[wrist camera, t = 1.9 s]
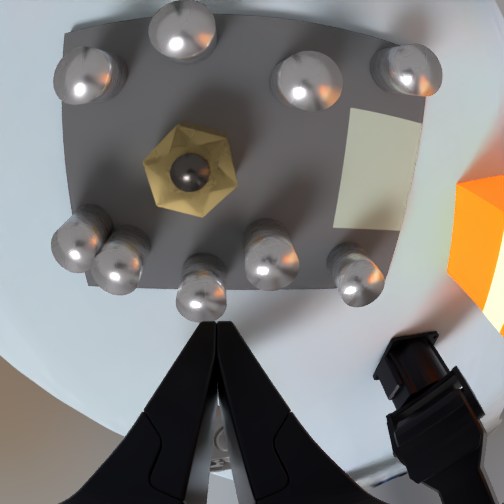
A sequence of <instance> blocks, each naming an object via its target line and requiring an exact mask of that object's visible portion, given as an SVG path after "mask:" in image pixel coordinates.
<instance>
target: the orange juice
mask: <svg viewBox="0 0 504 504" xmlns="http://www.w3.org/2000/svg"><path fill="white" fill-rule="evenodd" d="M447 273H448V274H449V275H450V276H451V277H452V278H453V279H454V280H455V281H456V282H457V283H458V284H459V285H460V287H461V288H462V289H463V290H464V291H465V292H466V293H467V294H468V295H469V296H470V298H471V299H472V300H473V301H474V302H475V303H476V304H477V305H478V307H479V308H480V309H481V310H482V311H483V313H484V315H485V316H486V317H487V318H488V319H489V321H490V322H491V323H492V324H493V325H494V327H495V328H496V329H497V330H498V332H500V333H501V334H502V335H503V337H504V175H500V176H495V177H489V178H484V179H479V180H473V181H468V182H463V183H458V184H456V201H455V214H454V225H453V234H452V242H451V250H450V256H449V263H448V269H447Z"/></svg>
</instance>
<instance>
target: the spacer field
mask: <svg viewBox="0 0 504 504" xmlns="http://www.w3.org/2000/svg"><path fill="white" fill-rule="evenodd" d="M149 39H150V41H151V43H152V45H153V46H154V48H155V49H156V50H157V51H159V52H160V53H162V54H163V55H165V56H166V57H168V58H170V59H171V60H173V61H174V62H176V63H179V64H184V65H191V64H196V63H199V62H201V61H203V60H205V59H206V58H208V57H209V56H210V55H211V54H212V52H213V51H214V49H215V47H216V44H217V32H216V25H215V19H214V16H213V14H212V12H211V11H210V9H209V8H208V7H206V6H205V5H204V4H202V3H200V2H197V1H194V0H178V1H174V2H171V3H169V4H167V5H165V6H164V7H162V8H161V9H160V10H159V11H158V12H157V13H156V14H155V15H154V17H153V18H152V20H151V22H150V25H149ZM370 74H371V77H372V79H373V81H374V82H375V84H376V85H377V86H378V87H379V88H380V89H382V90H383V91H386V92H388V93H397V94H407V95H415V96H424V97H427V96H431V95H433V94H435V93H436V92H437V91H438V90H439V88H440V86H441V83H442V68H441V65H440V62H439V60H438V58H437V57H436V55H435V54H434V53H433V52H432V51H431V50H430V49H429V48H427V47H426V46H423V45H421V44H410V45H404V46H397V47H391V48H386V49H381V50H378V51H377V52H376V53H374V55H373V56H372V58H371V60H370ZM127 77H128V69H127V65H126V63H125V61H124V60H123V59H122V58H121V57H120V56H118V55H116V54H113V53H110V52H106V51H103V50H99V49H96V48H92V47H87V46H83V47H78V48H75V49H73V50H71V51H70V52H68V53H67V54H66V55H65V56H64V57H63V58H62V59H61V60H60V62H59V63H58V65H57V67H56V70H55V73H54V79H53V84H54V89H55V92H56V94H57V96H58V97H59V98H60V100H62V101H63V102H65V103H67V104H71V105H78V104H85V103H92V102H100V101H107V100H110V99H112V98H114V97H115V96H117V95H118V94H119V93H120V92H121V91H122V89H123V88H124V86H125V84H126V81H127ZM269 87H270V90H271V93H272V94H273V96H274V97H275V99H276V100H277V101H279V102H280V103H281V104H283V105H285V106H288V107H292V108H297V109H302V110H306V111H321V110H324V109H327V108H329V107H330V106H332V105H333V104H334V103H335V102H336V101H337V100H338V98H339V97H340V94H341V92H342V87H343V79H342V74H341V72H340V69H339V67H338V66H337V64H336V63H335V62H334V61H333V60H332V59H331V58H330V57H328V56H327V55H325V54H323V53H320V52H316V51H302V52H299V53H296V54H294V55H292V56H291V57H289V58H287V59H285V60H283V61H282V62H280V63H278V64H277V65H276V66H275V67H274V68H273V70H272V72H271V74H270V77H269ZM242 247H243V255H244V263H245V271H246V276H247V278H248V280H249V282H250V283H251V284H252V285H253V286H255V287H256V288H259V289H261V290H266V291H274V290H279V289H282V288H284V287H286V286H288V285H289V284H290V283H292V282H293V280H294V279H295V278H296V276H297V274H298V272H299V260H298V257H297V255H296V252H295V250H294V248H293V245H292V243H291V241H290V238H289V236H288V234H287V231H286V229H285V227H284V226H283V225H282V224H281V223H279V222H278V221H276V220H273V219H259V220H256V221H254V222H252V223H251V224H250V225H249V226H248V227H247V228H246V229H245V231H244V233H243V236H242ZM51 249H52V253H53V255H54V257H55V259H56V261H57V262H58V263H59V264H60V265H61V266H62V267H63V268H65V269H66V270H68V271H70V272H74V273H83V272H86V271H88V270H89V269H90V268H91V272H92V276H93V278H94V280H95V282H96V283H97V284H98V285H99V287H101V288H102V289H103V290H105V291H106V292H108V293H111V294H114V295H126V294H129V293H131V292H132V291H134V290H135V289H136V287H137V285H138V283H139V280H140V277H141V275H142V272H143V269H144V267H145V264H146V262H147V259H148V257H149V254H150V251H151V244H150V240H149V238H148V236H147V235H146V234H145V233H144V232H143V231H142V230H141V229H140V228H138V227H136V226H133V225H122V226H119V227H117V228H116V229H114V230H113V223H112V220H111V217H110V216H109V214H108V213H107V212H106V211H105V210H104V209H103V208H102V207H100V206H98V205H94V204H87V205H84V206H82V207H80V208H79V209H78V210H77V211H76V212H75V213H74V214H73V215H72V216H71V217H70V218H69V219H68V220H67V221H66V222H65V223H64V224H63V225H62V226H61V227H60V228H59V229H58V230H57V231H56V232H55V233H54V235H53V237H52V240H51ZM326 267H327V270H328V272H329V273H330V275H331V277H332V279H333V281H334V283H335V285H336V287H337V289H338V291H339V293H340V295H341V297H342V298H343V300H344V302H345V303H346V304H347V305H349V306H352V307H362V306H365V305H368V304H370V303H371V302H373V301H374V300H375V299H376V298H377V297H378V296H379V295H380V294H381V292H382V290H383V288H384V284H385V280H384V276H383V274H382V273H381V272H380V270H379V269H378V268H377V266H376V265H375V264H374V262H373V261H372V260H371V258H370V257H369V256H368V254H367V253H366V252H365V251H364V249H363V248H362V247H361V246H360V245H359V244H358V243H355V242H350V241H349V242H343V243H340V244H338V245H337V246H335V247H334V248H333V249H332V250H331V251H330V253H329V254H328V257H327V260H326ZM226 305H227V304H226V270H225V266H224V264H223V262H222V261H221V260H220V259H219V258H218V257H217V256H215V255H213V254H210V253H196V254H193V255H191V256H190V257H188V258H187V259H186V260H185V262H184V264H183V266H182V271H181V276H180V281H179V286H178V292H177V297H176V307H177V309H178V311H179V312H180V314H181V315H182V316H184V317H185V318H186V319H188V320H190V321H193V322H198V323H201V322H202V321H214V320H217V319H218V318H220V317H221V316H222V315H223V313H224V312H225V310H226Z"/></svg>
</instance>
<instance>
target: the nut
mask: <svg viewBox="0 0 504 504" xmlns="http://www.w3.org/2000/svg"><path fill="white" fill-rule="evenodd" d="M142 162H143V165H144V168H145V172H146V175H147V178H148V181H149V184H150V187H151V190H152V193H153V196H154V199H155V202H156V205H157V206H158V207H162V208H166V209H170V210H174V211H178V212H182V213H186V214H190V215H194V216H198V217H202V218H203V217H204V216H205V215H206V214H207V213H208V212H209V211H210V210H212V209H213V208H214V207H215V206H216V205H217V204H218V203H219V202H220V201H221V200H223V199H224V198H225V197H226V196H227V195H228V194H229V193H230V192H232V191H233V190H234V189H235V188H236V187H237V186H238V183H237V177H236V171H235V167H234V163H233V158H232V154H231V150H230V145H229V141H228V137H227V133H226V132H223V131H220V130H216V129H212V128H209V127H205V126H201V125H197V124H193V123H189V122H185V121H183V122H181V123H180V124H178V125H177V126H176V127H175V128H174V129H173V130H172V131H171V132H170V133H169V134H168V135H167V136H166V137H165V138H164V139H163V140H162V141H161V142H160V143H159V144H158V145H157V146H156V147H155V148H154V149H153V150H152V151H151V153H150V154H149V155H148V156H147V157H146V158H145V159H144V160H143V161H142Z"/></svg>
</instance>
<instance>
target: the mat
mask: <svg viewBox="0 0 504 504" xmlns="http://www.w3.org/2000/svg"><path fill="white" fill-rule="evenodd" d="M213 16H214V19H215V25H216V32H217V44H216V47H215V49H214V51H213V52H212V54H211V55H210V56H209V57H208V58H206V59H205V60H203V61H201V62H199V63H196V64H191V65H184V64H179V63H176V62H174V61H173V60H171V59H170V58H168V57H166V56H165V55H163V54H162V53H160V52H159V51H157V50H156V49H155V48H154V46H153V45H152V43H151V41H150V39H149V25H150V22H151V20H152V18H153V17H149V18H140V19H133V20H126V21H120V22H114V23H109V24H103V25H98V26H94V27H89V28H85V29H81V30H77V31H73V32H69V33H65V36H64V47H63V57H64V56H65V55H66V54H67V53H68V52H70V51H71V50H73V49H75V48H78V47H83V46H87V47H92V48H96V49H99V50H103V51H106V52H110V53H113V54H116V55H118V56H120V57H121V58H122V59H123V60H124V61H125V63H126V65H127V69H128V77H127V81H126V84H125V86H124V88H123V89H122V91H121V92H120V93H119V94H118V95H117V96H115V97H114V98H112V99H110V100H107V101H100V102H92V103H85V104H78V105H71V104H67V103H65V102H63V101H62V125H63V142H64V154H65V164H66V173H67V182H68V189H69V196H70V203H71V209H72V215H73V214H74V213H75V212H76V211H77V210H78V209H79V208H80V207H82V206H84V205H87V204H94V205H98V206H100V207H102V208H103V209H104V210H105V211H106V212H107V213H108V214H109V216H110V217H111V220H112V223H113V230H114V229H116V228H117V227H119V226H122V225H133V226H136V227H138V228H140V229H141V230H142V231H143V232H144V233H145V234H146V235H147V236H148V238H149V240H150V244H151V251H150V254H149V257H148V259H147V262H146V264H145V267H144V269H143V272H142V275H141V277H140V280H139V283H138V285H137V287H136V288H155V289H178V286H179V281H180V276H181V271H182V266H183V264H184V262H185V260H186V259H187V258H188V257H190V256H191V255H193V254H196V253H210V254H213V255H215V256H217V257H218V258H219V259H220V260H221V261H222V262H223V264H224V266H225V270H226V290H261V289H259V288H256V287H255V286H253V285H252V284H251V283H250V282H249V280H248V278H247V276H246V271H245V263H244V255H243V247H242V236H243V233H244V231H245V229H246V228H247V227H248V226H249V225H250V224H251V223H252V222H254V221H256V220H259V219H273V220H276V221H278V222H279V223H281V224H282V225H283V226H284V227H285V229H286V231H287V234H288V236H289V238H290V241H291V243H292V245H293V248H294V250H295V252H296V255H297V257H298V260H299V272H298V274H297V276H296V278H295V279H294V280H293V282H292V283H290V284H289V285H288V286H286V287H284V288H282V289H330V288H337V287H336V285H335V283H334V281H333V279H332V277H331V275H330V273H329V272H328V270H327V267H326V260H327V257H328V254H329V253H330V251H331V250H332V249H333V248H334V247H335V246H337V245H338V244H340V243H343V242H349V241H350V242H355V243H358V244H359V245H360V246H361V247H362V248H363V249H364V251H365V252H366V253H367V254H368V256H369V257H370V258H371V260H372V261H373V262H374V264H375V265H376V266H377V268H378V269H379V270H380V272H381V273H382V274H383V276H384V280H385V279H386V276H387V273H388V269H389V266H390V263H391V260H392V257H393V253H394V250H395V247H396V243H397V240H398V236H399V232H400V229H401V225H402V221H403V217H404V213H405V209H406V205H407V201H408V197H409V193H410V188H411V184H412V179H413V174H414V169H415V164H416V159H417V153H418V147H419V141H420V135H421V129H422V122H423V114H424V106H425V97H424V96H415V95H407V94H397V93H388V92H386V91H383V90H382V89H380V88H379V87H378V86H377V85H376V84H375V82H374V81H373V79H372V77H371V74H370V60H371V58H372V56H373V55H374V53H376V52H377V51H378V50H381V49H386V48H391V47H397V46H400V45H397V44H394V43H391V42H388V41H385V40H382V39H378V38H375V37H372V36H368V35H364V34H361V33H357V32H353V31H349V30H345V29H340V28H336V27H331V26H326V25H321V24H316V23H310V22H304V21H298V20H291V19H283V18H275V17H265V16H253V15H235V14H213ZM302 51H316V52H320V53H323V54H325V55H327V56H328V57H330V58H331V59H332V60H333V61H334V62H335V63H336V64H337V66H338V67H339V69H340V72H341V74H342V79H343V87H342V92H341V94H340V97H339V98H338V100H337V101H336V102H335V103H334V104H333V105H332V106H330V107H329V108H327V109H324V110H321V111H306V110H302V109H297V108H292V107H288V106H285V105H283V104H281V103H280V102H279V101H277V100H276V99H275V97H274V96H273V94H272V93H271V90H270V87H269V77H270V74H271V72H272V70H273V68H274V67H275V66H276V65H277V64H278V63H280V62H282V61H283V60H285V59H287V58H289V57H291V56H292V55H294V54H296V53H299V52H302ZM183 121H185V122H189V123H193V124H197V125H201V126H205V127H209V128H212V129H216V130H220V131H223V132H226V133H227V137H228V141H229V145H230V150H231V154H232V158H233V163H234V167H235V171H236V177H237V183H238V186H237V187H236V188H235V189H234V190H233V191H232V192H230V193H229V194H228V195H227V196H226V197H225V198H224V199H223V200H221V201H220V202H219V203H218V204H217V205H216V206H215V207H214V208H213V209H212V210H210V211H209V212H208V213H207V214H206V215H205V216H204V217H203V218H202V217H198V216H194V215H190V214H186V213H182V212H178V211H174V210H170V209H166V208H162V207H158V206H157V205H156V202H155V199H154V196H153V193H152V190H151V187H150V184H149V181H148V178H147V175H146V172H145V168H144V165H143V162H142V161H143V160H144V159H145V158H146V157H147V156H148V155H149V154H150V153H151V151H152V150H153V149H154V148H155V147H156V146H157V145H158V144H159V143H160V142H161V141H162V140H163V139H164V138H165V137H166V136H167V135H168V134H169V133H170V132H171V131H172V130H173V129H174V128H175V127H176V126H177V125H178V124H180V123H181V122H183ZM85 275H86V279H87V282H88V286H99V285H98V284H97V283H96V282H95V280H94V278H93V276H92V272H91V268H90V269H89V270H88V271H86V272H85Z"/></svg>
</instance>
